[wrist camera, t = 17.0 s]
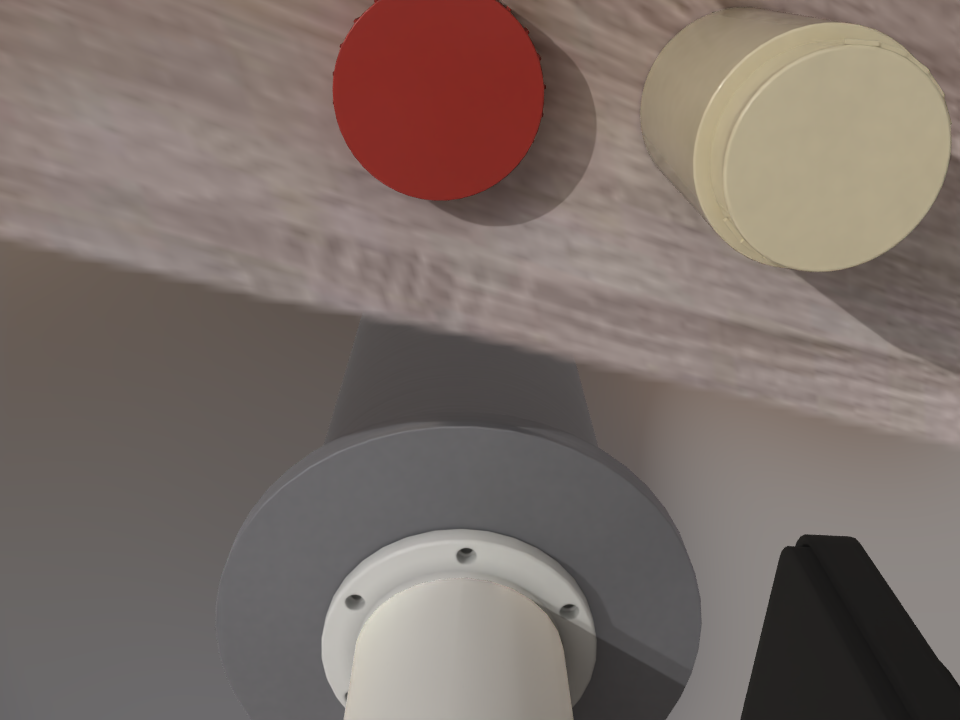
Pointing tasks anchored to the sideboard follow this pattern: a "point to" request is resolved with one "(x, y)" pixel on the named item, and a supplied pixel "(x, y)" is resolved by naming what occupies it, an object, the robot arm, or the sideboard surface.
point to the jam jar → (797, 135)
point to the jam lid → (438, 95)
